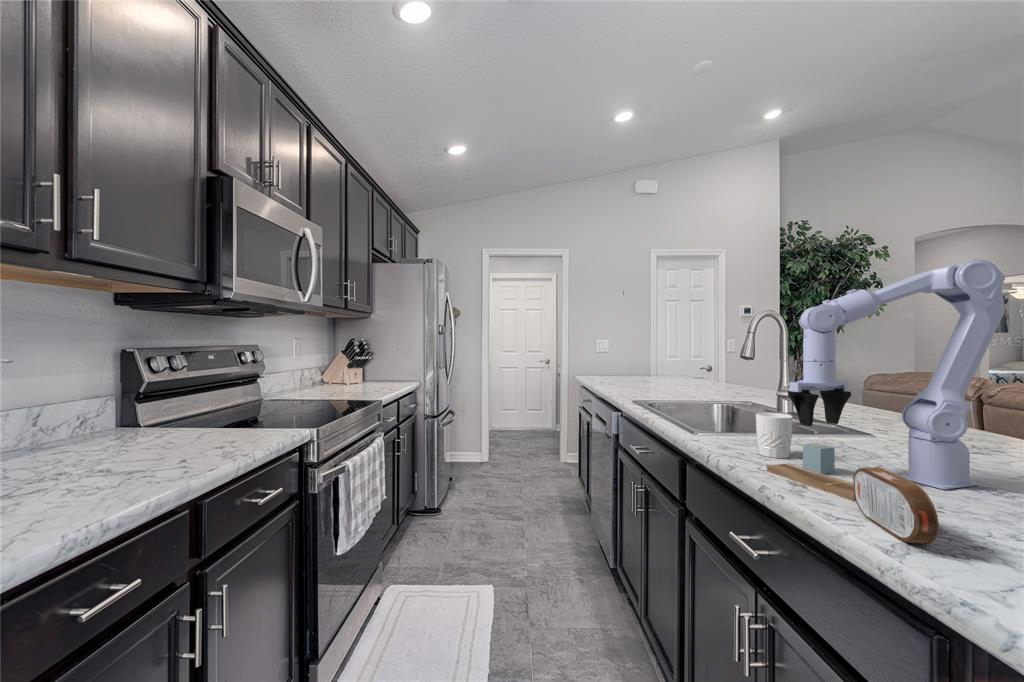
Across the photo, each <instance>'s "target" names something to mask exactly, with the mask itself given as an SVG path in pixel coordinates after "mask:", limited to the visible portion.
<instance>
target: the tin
mask: <svg viewBox="0 0 1024 682" xmlns="http://www.w3.org/2000/svg"><path fill="white" fill-rule="evenodd" d="M898 475H899V474H896V473H894V472H891V471H889V470H888V469H885V468H883V467H880V466H875V467H860V468H858V469H856V470H855V471H854V473H853V476H852V479H853V483H854V495H855V500H856V501H855V502H856V505H857V506H858V507H857V508H858V509H859V510H860V512H861V513H862V514H863V516H864V517H865V518H866V519H868V520H869V521H870V522H871V523H874V525H876V526H878V527H879V528H880V529H883V530H884V531H885V532H887V533H889V534H890V535H891V536H893V537H895V538H896V539H897V540H899V541H900V540H901V541H900V542H902V543H907V544H921V545H930V544H932V543H934V542H935V541H936V540H937V538H938V536H939V530H940V528H939V526H940V523H939V519H938V513H937V511H936V508H935V505H934V504H933V501H932V499H931V498H930V496H929V495H928V494H927V492H926V491H925V490H924V489H923V488H922V487H921V486H920V485H919V484H917V483H916V482H914V481H910V480H907V479H905V478H903V477H900V476H898Z"/></svg>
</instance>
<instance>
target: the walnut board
mask: <svg viewBox="0 0 1024 682" xmlns="http://www.w3.org/2000/svg"><path fill="white" fill-rule="evenodd" d="M766 471H767V472H768V471H769V473H771V472H772V474H774V473H776V474H775V475H777V474H779V475H778V476H780V475H782V476H781V477H783V476H785V477H784V478H786V477H788V478H787V479H789V478H790V479H789V480H792V479H793V480H792V481H794V480H796V481H795V482H797V481H798V482H797V483H801V484H803V485H807V486H810V487H812V486H813V488H815V487H816V488H815V489H818V488H819V489H818V490H821V489H822V490H821V491H824V490H825V491H824V492H827V491H828V492H827V493H830V492H831V493H830V494H832V493H834V494H833V495H835V494H837V495H836V496H838V495H839V497H841V496H842V497H841V498H844V497H845V499H847V498H848V500H851V501H853V502H856V500H855V495H854V482H850V481H847V480H844V479H840V478H838V477H834V476H831V475H829V474H821V473H818V472H815V471H811V470H808V469H805V468H803V466H802V467H801V466H799V465H796V464H795V465H794V464H792V463H791V464H790V463H780V464H778V463H777V464H769V465H766Z"/></svg>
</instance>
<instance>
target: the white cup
mask: <svg viewBox="0 0 1024 682" xmlns="http://www.w3.org/2000/svg"><path fill="white" fill-rule="evenodd" d="M793 421H794V416H792V415H790V414H788V413H787V414H785V413H780V412H779V413H778V412H756V413H755V429H756V430H755V431H756V441H757V453H758V455H761V456H763V457H767V458H771V457H772V458H771V459H782V458H784V459H788V458H790V457H791V445H792V437H793Z"/></svg>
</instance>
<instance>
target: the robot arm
mask: <svg viewBox="0 0 1024 682" xmlns="http://www.w3.org/2000/svg"><path fill="white" fill-rule="evenodd" d="M1005 280H1006V275H1004V273H1002V271H1001V270H1000V269H999V268H998V267H997V265H996V264H994V263H993V262H991V261H988V260H986V259H981V258H980V259H972V260H971V259H970V260H968V261H966V262H963V263H960V264H957V263H956V264H953V265H949V266H948V265H947V266H945V267H940V268H936V269H932V270H931V269H930V270H928V271H924V272H919V273H916V274H913V275H911V276H909V277H906V278H903V279H901V280H899V281H896V282H894V283H892V284H889V285H886V286H883V287H881V288H879V289H876V290H873V291H870V290H867V289H858V290H857V289H856V288H854V289H849V290H848V291H846V294H845V295H842V296H840V297H837V298H834V299H832V300H830V299H826V300H823V301H822V304H819V305H817V306H812V307H808V308H807V309H806V310H803V311H804V312H802V314H801V315H800V319H799V320H798V324H799V326H800V327H801V329H802V331H803V341H802V348H803V349H802V350H803V351H802V353H803V354H802V355H803V356H802V358H803V359H802V361H803V362H802V365H803V366H802V367H803V368H802V379H799V380H798V381H790V382H789V390H788V391H787V396H788V397H789V399H790V400H791V402H792V404H793V406H794V408H795V411H796V413H797V417H798V420H799V424H800V425H801V426H805V427H812V426H813V422H814V413H815V407H816V403H817V401H818V399H819V396H821V398H822V403H823V407H824V409H823V410H824V418H825V422H826V423H827V424H833V425H838V424H839V421H840V419H841V415H842V413H843V410H844V407H845V405H846V403H847V402H848V400H849V399H850V398H851V396H852V391H848V390H849V381H848V380H836V379H837V378H836V377H837V376H836V375H837V374H836V373H837V371H836V370H837V368H836V367H837V366H836V363H837V362H836V361H837V360H836V359H837V352H836V350H837V349H836V347H837V346H836V345H837V344H836V342H837V341H836V330H837V329H838V328H839V327H840V326H844V325H845V326H846V325H847V324H850V323H853V322H855V321H856V322H857V321H858V320H862V319H865V318H867V317H870V316H872V315H876V313H877V312H878V310H879V309H880V306H883V305H885V304H888V303H892V302H893V301H897V300H901V299H903V298H907V297H909V296H912V295H916V294H918V293H923V294H932V293H934V294H935V295H936V296H938V297H939V298H940V299H942V300H944V301H945V302H946V303H949V304H950V305H951V306H953V307H954V309H955V310H956V311H957V312H958V313H959V315H960V317H959V318H958V321H957V323H956V325H955V327H954V328H953V329H954V330H953V331H952V334H951V336H950V337H949V340H948V341H947V345H946V346H945V349H944V350H943V353H942V355H941V357H940V359H939V362H938V364H937V366H936V368H935V370H934V372H933V374H932V376H931V379H930V381H929V383H928V385H927V386H926V387H925V388H923V390H921V391H919V392H918V393H917V394H916V395H915V397H914V399H913V400H912V402H910V403H909V404H908V405H906V406H904V409H903V410H902V413H901V419H902V422H903V424H904V425H905V426H906V427H908V460H907V461H908V473H904V474H903V473H902V474H897V475H898V476H900V477H903V478H905V479H907V480H909V481H911V482H914V483H916V484H917V483H918V484H922V485H925V486H929V487H933V488H937V489H940V490H951V489H959V488H966V487H972V486H977V483H976V482H973V481H970V478H971V477H970V476H971V475H970V473H971V472H970V471H971V470H970V469H971V465H970V464H971V462H970V461H971V460H970V458H971V454H970V450H969V448H968V446H967V445H966V444H965V443H964V442H963V441H961V440H960V439H961V438H962V437H963V436H964V435H965V434H966V432H967V431H968V428H969V427H968V426H969V423H968V414H969V412H970V410H971V407H970V405H969V403H968V402H967V400H966V398H965V396H966V394H967V392H968V390H969V387H970V386H971V383H972V381H973V379H974V377H975V375H976V373H977V371H978V369H979V367H980V365H981V363H982V360H983V358H984V356H985V354H986V352H987V350H988V348H989V345H990V344H991V342H992V339H993V337H994V335H995V333H996V331H997V329H998V327H999V324H1001V321H1002V319H1003V317H1004V315H1005V301H1004V296H1003V295H1004V294H1003V289H1002V286H1003V284H1004V282H1005ZM816 391H817V392H819V394H820V395H819V394H817V393H816V394H815V393H812V392H816Z"/></svg>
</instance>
